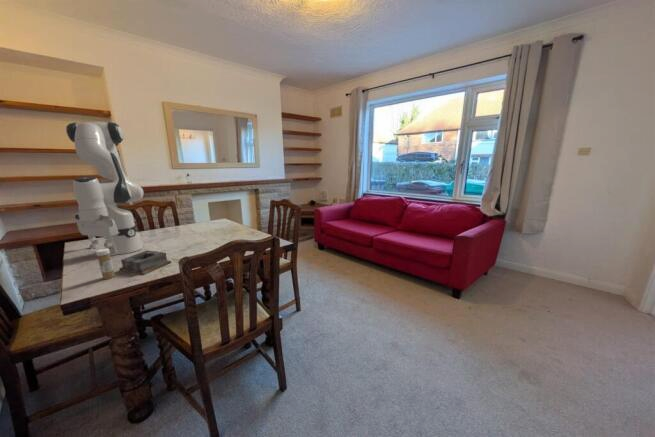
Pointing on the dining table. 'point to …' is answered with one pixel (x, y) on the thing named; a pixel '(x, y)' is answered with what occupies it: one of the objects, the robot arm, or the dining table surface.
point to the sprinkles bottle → (105, 263)
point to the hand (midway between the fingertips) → (102, 245)
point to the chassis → (144, 262)
